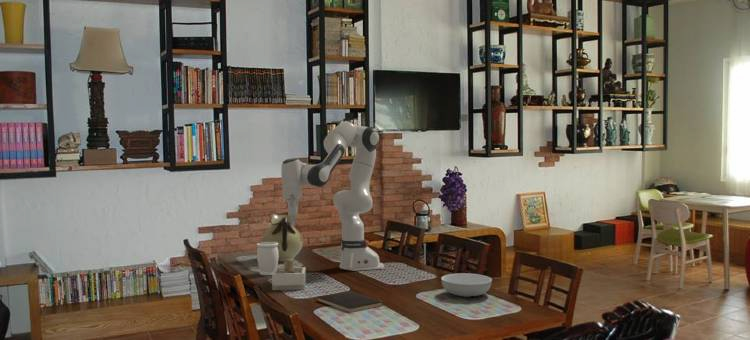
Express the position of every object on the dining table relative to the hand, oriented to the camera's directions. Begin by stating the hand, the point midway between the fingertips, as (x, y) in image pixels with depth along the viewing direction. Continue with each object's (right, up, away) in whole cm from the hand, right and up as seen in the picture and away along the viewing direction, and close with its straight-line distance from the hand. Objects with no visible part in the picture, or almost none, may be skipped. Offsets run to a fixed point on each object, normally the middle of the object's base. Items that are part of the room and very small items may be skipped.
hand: (293, 224), depth 301 cm
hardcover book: (+27, -29, -39) cm, 56 cm away
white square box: (-1, -27, -8) cm, 28 cm away
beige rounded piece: (-12, -24, +55) cm, 61 cm away
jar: (-15, -26, +19) cm, 35 cm away
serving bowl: (+75, -27, -27) cm, 85 cm away
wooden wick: (-1, -25, -8) cm, 26 cm away
